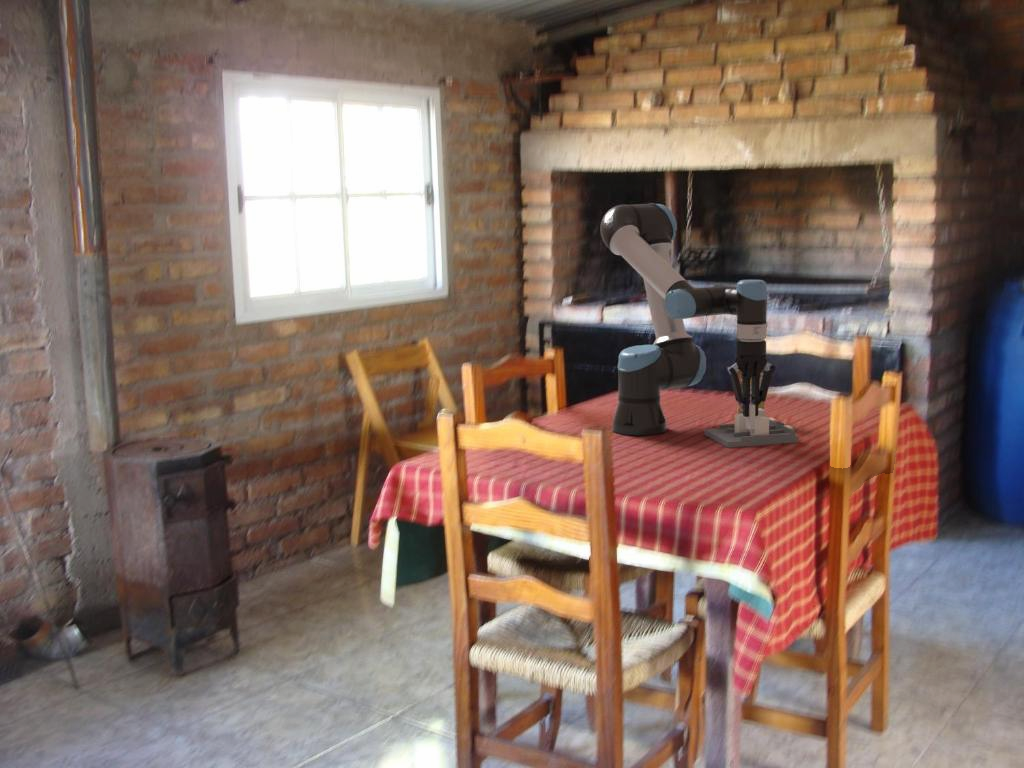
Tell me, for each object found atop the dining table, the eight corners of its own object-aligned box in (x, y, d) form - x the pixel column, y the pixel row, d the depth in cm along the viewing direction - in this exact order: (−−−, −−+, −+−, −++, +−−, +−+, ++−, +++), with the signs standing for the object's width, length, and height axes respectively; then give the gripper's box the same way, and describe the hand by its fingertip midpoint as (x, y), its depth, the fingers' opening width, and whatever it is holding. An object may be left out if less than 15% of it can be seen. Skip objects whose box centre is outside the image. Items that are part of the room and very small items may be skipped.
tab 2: (751, 429, 299) (751, 411, 298) (746, 426, 302) (746, 409, 301) (764, 428, 300) (765, 410, 299) (760, 425, 303) (760, 408, 302)
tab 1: (739, 434, 293) (739, 416, 292) (734, 432, 296) (734, 413, 295) (753, 433, 294) (753, 415, 293) (748, 431, 297) (748, 413, 296)
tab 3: (754, 437, 289) (755, 419, 288) (749, 435, 292) (750, 417, 291) (768, 436, 290) (769, 418, 289) (763, 434, 292) (764, 416, 292)
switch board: (727, 447, 286) (727, 433, 285) (704, 434, 301) (704, 421, 301) (798, 442, 290) (798, 428, 289) (772, 429, 305) (772, 416, 305)
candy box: (735, 420, 318) (736, 368, 316) (749, 419, 319) (750, 367, 317) (751, 426, 310) (752, 373, 307) (764, 425, 311) (765, 372, 308)
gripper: (733, 342, 280) (732, 433, 285) (781, 340, 283) (779, 429, 287) (722, 339, 288) (721, 427, 292) (768, 336, 290) (767, 424, 294)
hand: (750, 428), depth 289 cm, fingers closed
